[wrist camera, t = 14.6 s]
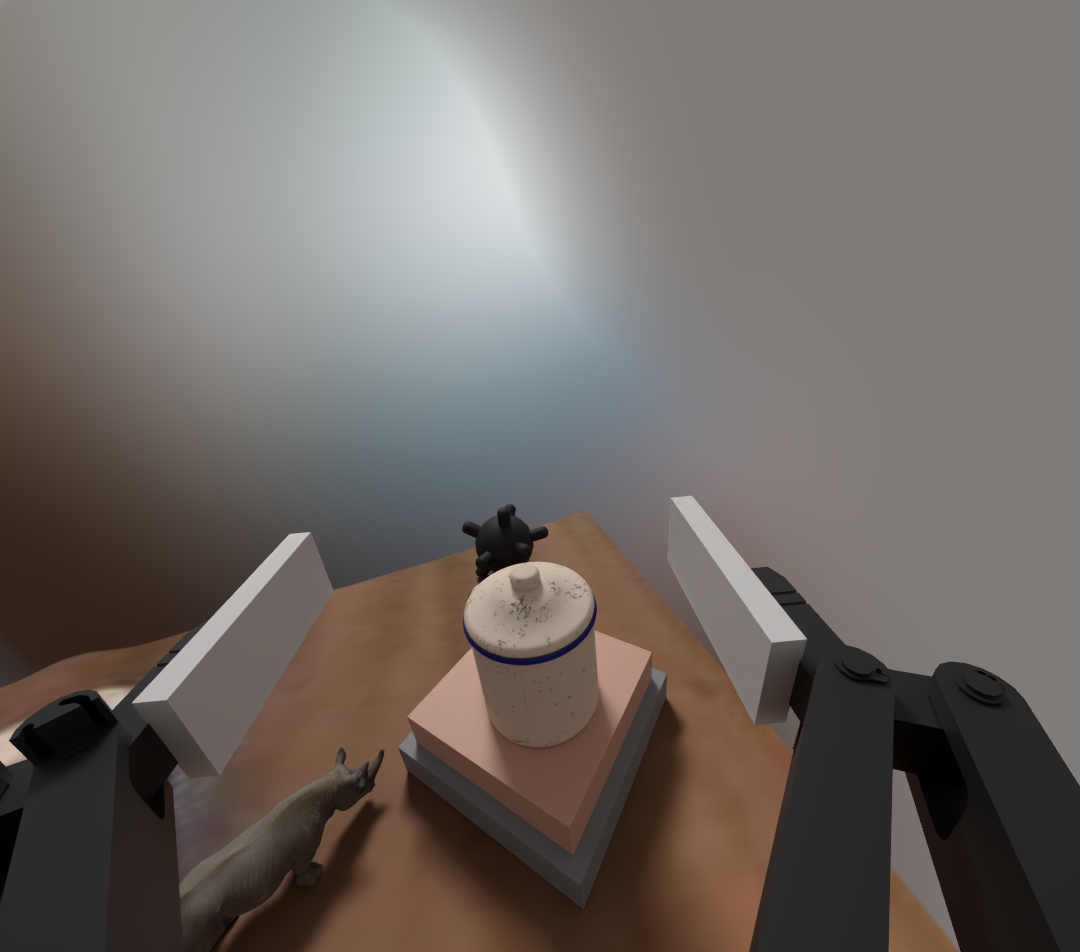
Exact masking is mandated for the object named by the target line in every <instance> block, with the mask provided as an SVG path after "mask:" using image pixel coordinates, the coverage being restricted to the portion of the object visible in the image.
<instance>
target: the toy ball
mask: <svg viewBox="0 0 1080 952" xmlns="http://www.w3.org/2000/svg"><path fill="white" fill-rule="evenodd" d="M515 510H516V508H515V507H514V506H513V505H511V504H508V505H506V506H505V507H502V508H500V509H499V510H498V512H497V515H498V516H494V517H492V518H491V519H489V520H488V521H487V522H485V523H484V524H483V525H482V527H481V526H479V525H477V524H474V523H472V522H469V521H468V522H466V523H464V525H463V527H462V530H463V532H464V533H466V534H468V535H470V536H472V537H475V538H476V541H475V544H476V553H477V555H478V558H477V559H476V566H477V567H478V568H477V570H476V574H477V576H479V577H480V578H484V577H486V576H487V574H488V573H489V572H490V570H492V571H495V572H497V571H499V570H501V569H504V568H506V567H509V566H512V565H516V564H521V563H527V561H528V559H529V558H530V556H531V554H532V550H533V546H534V545H533V541H537V540H540V539H543V538H546V537H547V536H548V530H547V528H546V527H544V526H543V527H539V528H535V529H532V530H530V529H529V527H528V526H527V524H525V523H524V522H523V521H522V520H521V519H519V518H518V517H515Z"/></svg>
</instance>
